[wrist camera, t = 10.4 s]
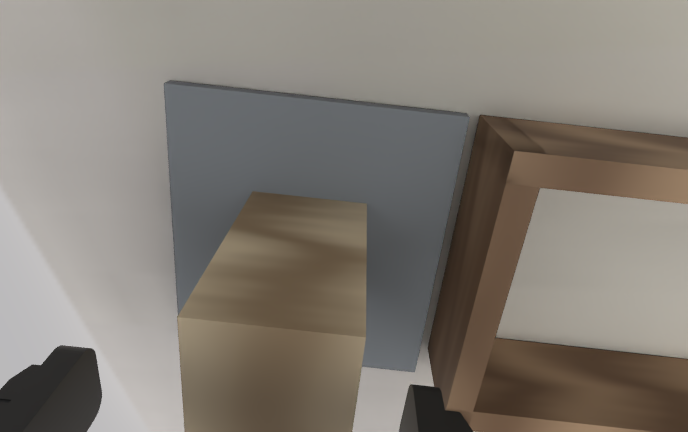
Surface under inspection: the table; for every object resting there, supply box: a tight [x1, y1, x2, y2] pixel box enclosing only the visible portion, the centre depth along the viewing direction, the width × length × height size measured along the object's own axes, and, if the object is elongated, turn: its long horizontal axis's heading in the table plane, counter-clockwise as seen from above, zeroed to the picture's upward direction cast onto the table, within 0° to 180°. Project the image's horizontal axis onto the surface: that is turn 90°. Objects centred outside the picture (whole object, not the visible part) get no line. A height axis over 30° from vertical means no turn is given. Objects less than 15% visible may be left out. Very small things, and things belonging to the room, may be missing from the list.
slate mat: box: [164, 81, 470, 372], centre depth 20 cm, size 11×12×1 cm
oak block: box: [177, 191, 367, 432], centre depth 16 cm, size 4×4×8 cm
